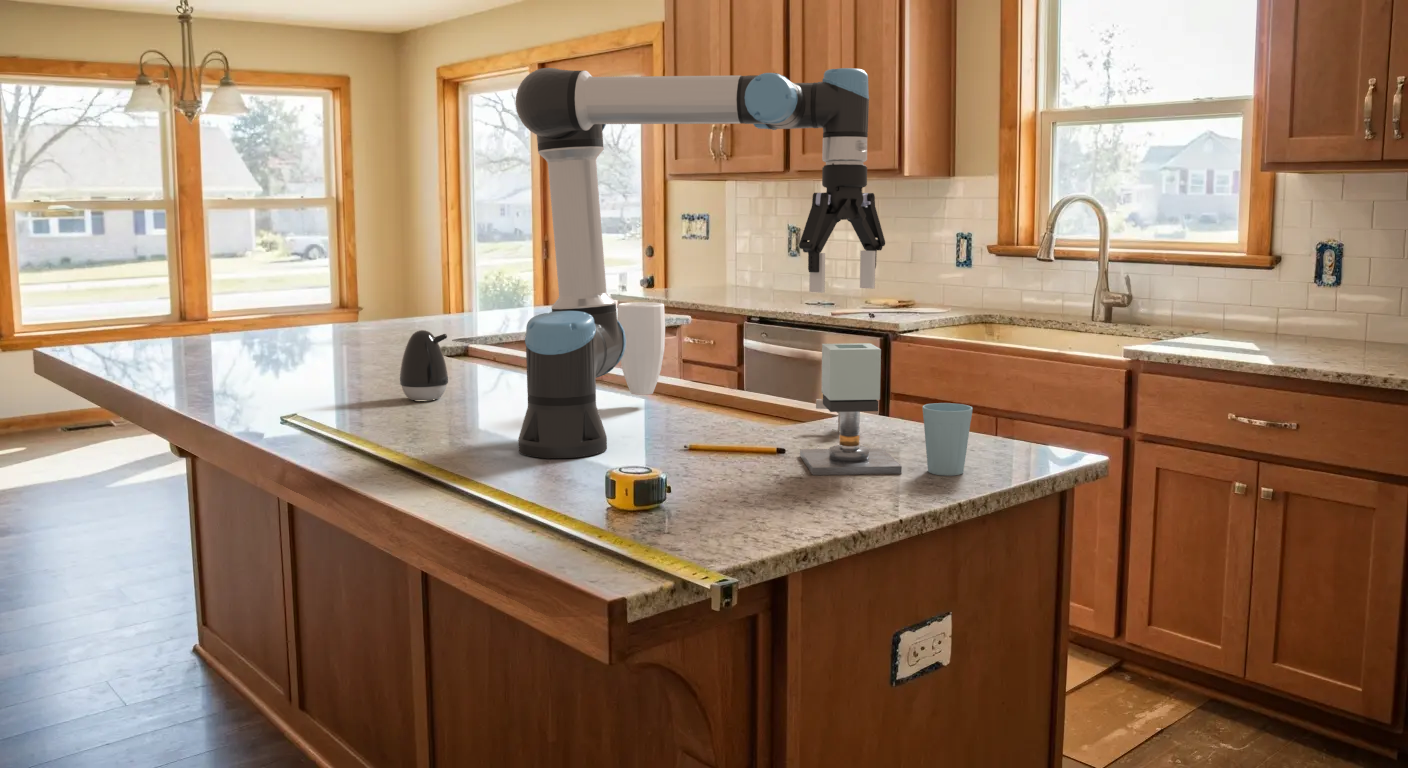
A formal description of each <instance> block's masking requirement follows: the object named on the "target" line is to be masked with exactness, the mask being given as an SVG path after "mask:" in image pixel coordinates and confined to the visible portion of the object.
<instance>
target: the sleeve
mask: <svg viewBox="0 0 1408 768" xmlns="http://www.w3.org/2000/svg"><path fill="white" fill-rule="evenodd" d="M881 356H882V349H881V348H880V347H878V346H876V345H875V344H873V343H871V342H867V343H864V342H862V343H861V342H860V343H855V342H854V343H821V393H822V395H823V394H824V395H825V396H826V397H827V398H828V399H829V400H877V401H880V400H881V372H882V371H881V369H882V368H881V365H882V364H881V362H882V359H881V358H882V357H881Z"/></svg>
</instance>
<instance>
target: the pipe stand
mask: <svg viewBox="0 0 1408 768" xmlns="http://www.w3.org/2000/svg"><path fill="white" fill-rule="evenodd" d="M860 419H861V412H840V432H839V440H838V441H839V445H833V446H830V447H829V448H805V449H804V448H802V449H799V456H800V457H799V458H801V460H802V461H803V463H804V464H805V466H806V467H807V469H808V470H809V472H810V473H811V474H812V476H835V475H836V476H841V475H843V476H847V475H849V476H851V475H900V474H902V471H903V470H902V465H901V463H899V462H898V461H897V460H896V459H895V458H894V457H893V456H892V455H891V454H889V453H888V451H886V450H885V449H884V448H883V447H875V448H874V447H866V446H862V445H860V433H861V432H860V431H861V430H860V428H861V425H860V424H861V420H860Z"/></svg>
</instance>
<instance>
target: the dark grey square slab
mask: <svg viewBox="0 0 1408 768" xmlns="http://www.w3.org/2000/svg"><path fill="white" fill-rule="evenodd" d="M822 399H823V405H824V406H825V407H826V408H827V409H826V410H828V411H829V412H830V413H837V412H860V413H861V412H879V400H829V399H828V398H827V397H826V396H825V395H824V394H823V393H822Z"/></svg>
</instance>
